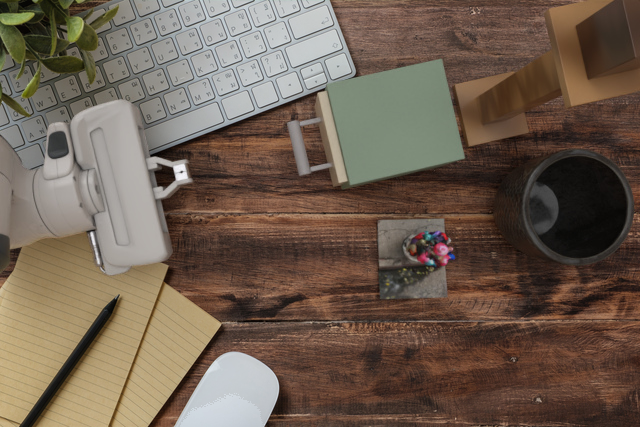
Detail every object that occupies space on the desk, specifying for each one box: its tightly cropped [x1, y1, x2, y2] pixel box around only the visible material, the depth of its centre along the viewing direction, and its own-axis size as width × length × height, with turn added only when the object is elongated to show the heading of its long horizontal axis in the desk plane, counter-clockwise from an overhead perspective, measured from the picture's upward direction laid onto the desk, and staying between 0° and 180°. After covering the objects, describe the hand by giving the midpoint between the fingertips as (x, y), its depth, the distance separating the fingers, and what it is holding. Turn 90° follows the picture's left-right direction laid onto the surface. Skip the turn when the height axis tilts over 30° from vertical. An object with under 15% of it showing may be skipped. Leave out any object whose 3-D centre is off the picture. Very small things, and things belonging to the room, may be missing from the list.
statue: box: [376, 218, 456, 300], centre depth 61 cm, size 11×9×15 cm
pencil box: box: [576, 0, 640, 80], centre depth 40 cm, size 5×5×6 cm
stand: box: [451, 0, 640, 148], centre depth 56 cm, size 9×9×26 cm
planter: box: [492, 148, 635, 267], centre depth 63 cm, size 14×14×13 cm
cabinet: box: [324, 58, 466, 191], centre depth 63 cm, size 15×13×10 cm
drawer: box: [286, 90, 348, 188], centre depth 63 cm, size 18×11×8 cm, turn 103°
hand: (190, 171), depth 59 cm, fingers closed
